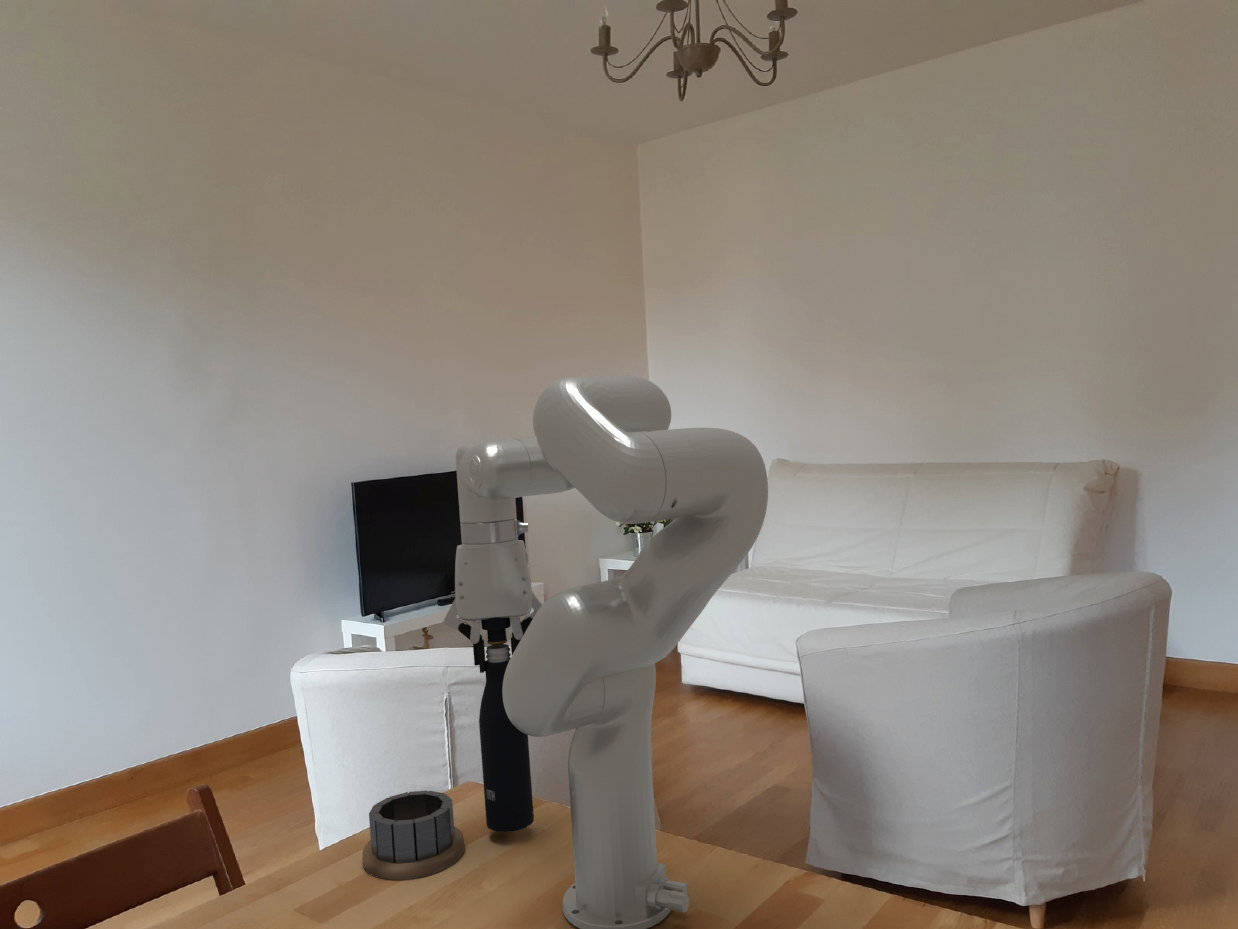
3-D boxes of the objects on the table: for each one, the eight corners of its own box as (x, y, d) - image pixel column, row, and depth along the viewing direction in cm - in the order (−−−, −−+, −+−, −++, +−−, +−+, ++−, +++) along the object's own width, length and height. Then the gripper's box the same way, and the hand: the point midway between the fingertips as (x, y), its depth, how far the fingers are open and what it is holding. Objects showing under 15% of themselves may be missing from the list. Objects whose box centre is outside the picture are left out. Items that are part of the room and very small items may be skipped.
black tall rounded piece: (538, 812, 130) (522, 598, 129) (528, 832, 123) (512, 607, 122) (492, 813, 130) (477, 600, 129) (481, 833, 124) (465, 609, 123)
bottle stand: (484, 842, 125) (481, 795, 125) (420, 888, 114) (416, 836, 113) (409, 827, 131) (406, 781, 131) (341, 868, 120) (337, 819, 120)
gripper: (550, 526, 130) (559, 656, 131) (429, 535, 128) (438, 667, 129) (552, 531, 122) (562, 670, 123) (424, 541, 121) (434, 682, 121)
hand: (499, 667), depth 126 cm, fingers closed on black tall rounded piece, 3 cm apart
